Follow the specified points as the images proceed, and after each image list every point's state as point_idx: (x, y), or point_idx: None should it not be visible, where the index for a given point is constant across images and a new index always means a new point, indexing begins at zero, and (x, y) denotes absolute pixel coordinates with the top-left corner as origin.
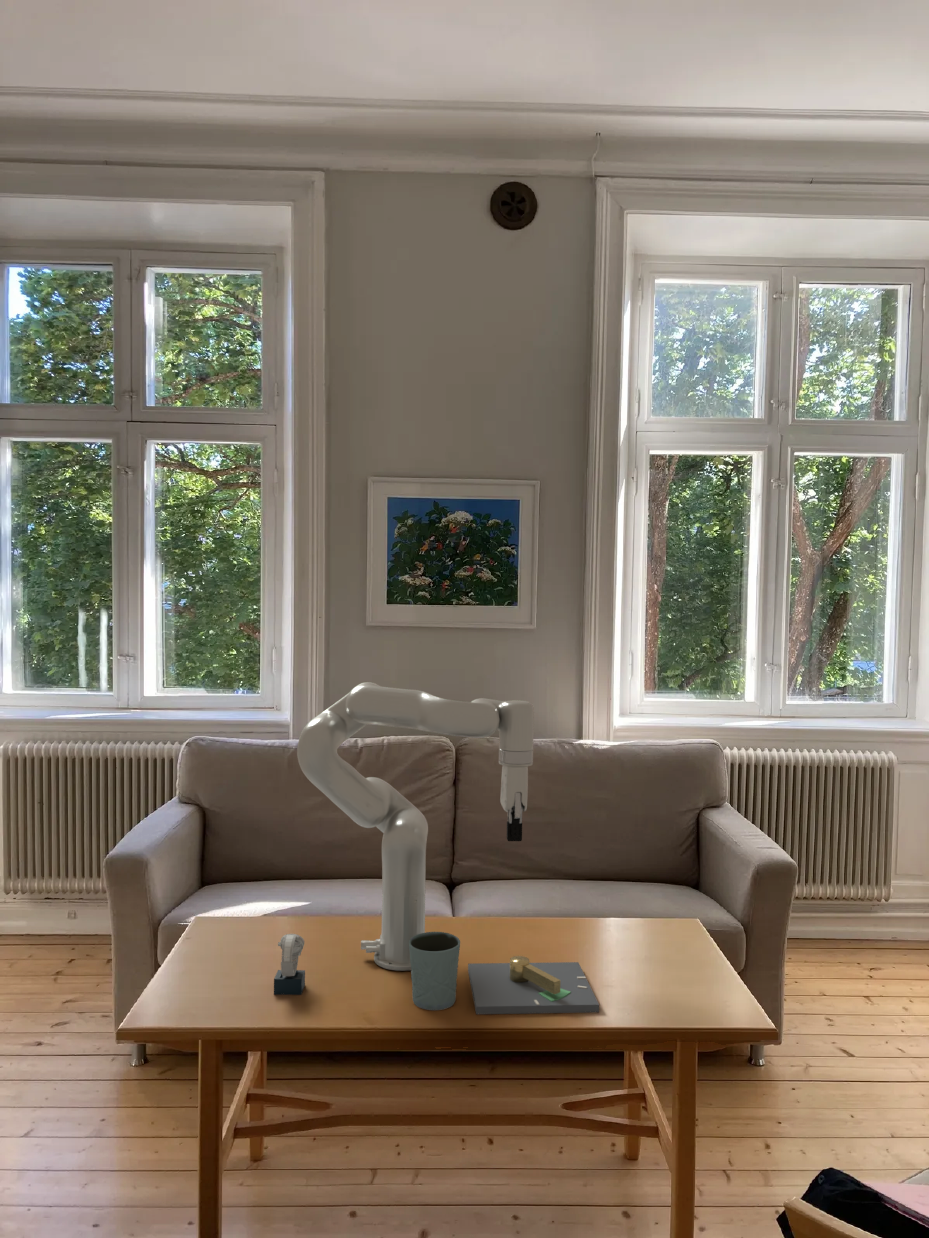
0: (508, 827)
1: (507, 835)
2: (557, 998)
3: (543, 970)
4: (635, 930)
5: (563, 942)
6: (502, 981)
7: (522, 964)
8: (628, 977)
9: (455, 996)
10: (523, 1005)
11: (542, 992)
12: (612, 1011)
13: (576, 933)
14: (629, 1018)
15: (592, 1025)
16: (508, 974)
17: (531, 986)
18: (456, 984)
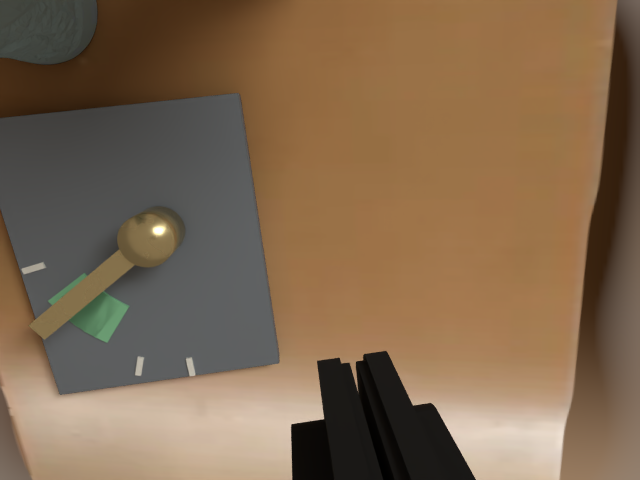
0: (333, 464)
1: (325, 386)
2: None
3: (220, 286)
4: (494, 473)
5: (427, 329)
6: (138, 187)
7: (120, 248)
8: (248, 445)
9: (29, 62)
10: (12, 237)
11: None
12: (79, 408)
13: (480, 358)
14: (55, 435)
15: (3, 369)
16: (183, 202)
17: None
18: (17, 59)
